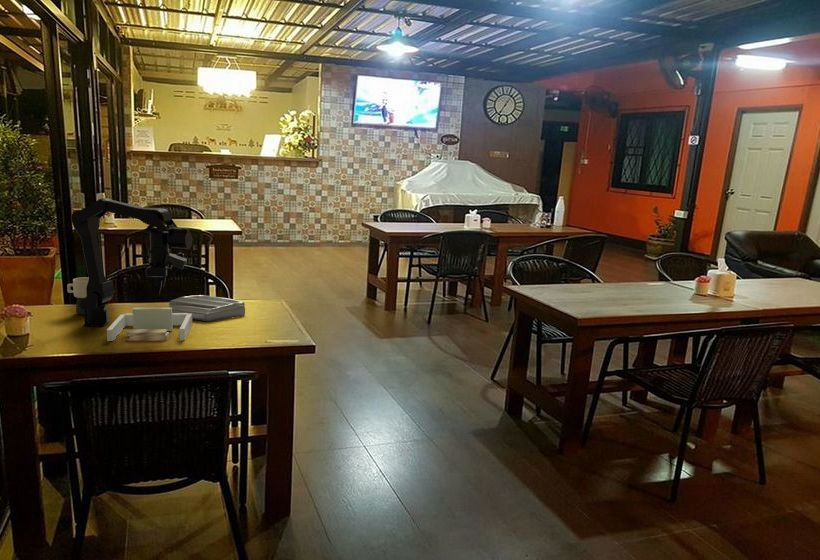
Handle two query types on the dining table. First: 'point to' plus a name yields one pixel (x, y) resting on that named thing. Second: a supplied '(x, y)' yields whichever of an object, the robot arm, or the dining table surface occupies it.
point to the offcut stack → (147, 334)
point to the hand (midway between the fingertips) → (159, 291)
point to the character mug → (79, 291)
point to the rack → (127, 320)
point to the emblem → (208, 307)
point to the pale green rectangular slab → (152, 318)
